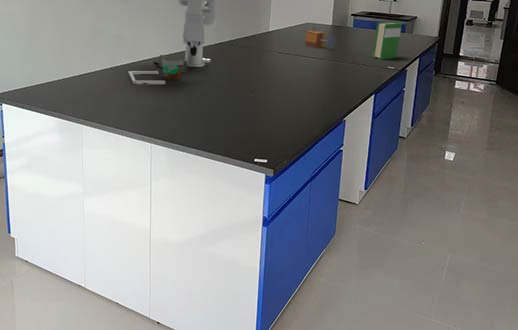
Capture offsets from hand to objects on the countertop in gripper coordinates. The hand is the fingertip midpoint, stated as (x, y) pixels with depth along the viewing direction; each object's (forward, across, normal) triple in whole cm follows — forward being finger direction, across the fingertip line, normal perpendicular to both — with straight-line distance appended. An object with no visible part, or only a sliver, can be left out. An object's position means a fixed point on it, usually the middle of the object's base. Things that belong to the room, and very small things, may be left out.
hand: (193, 55), depth 287 cm
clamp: (+10, -118, -104) cm, 158 cm away
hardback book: (+10, -152, -68) cm, 167 cm away
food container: (+13, +12, -1) cm, 17 cm away
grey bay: (+13, +23, -1) cm, 26 cm away
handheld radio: (+12, +7, -26) cm, 30 cm away
